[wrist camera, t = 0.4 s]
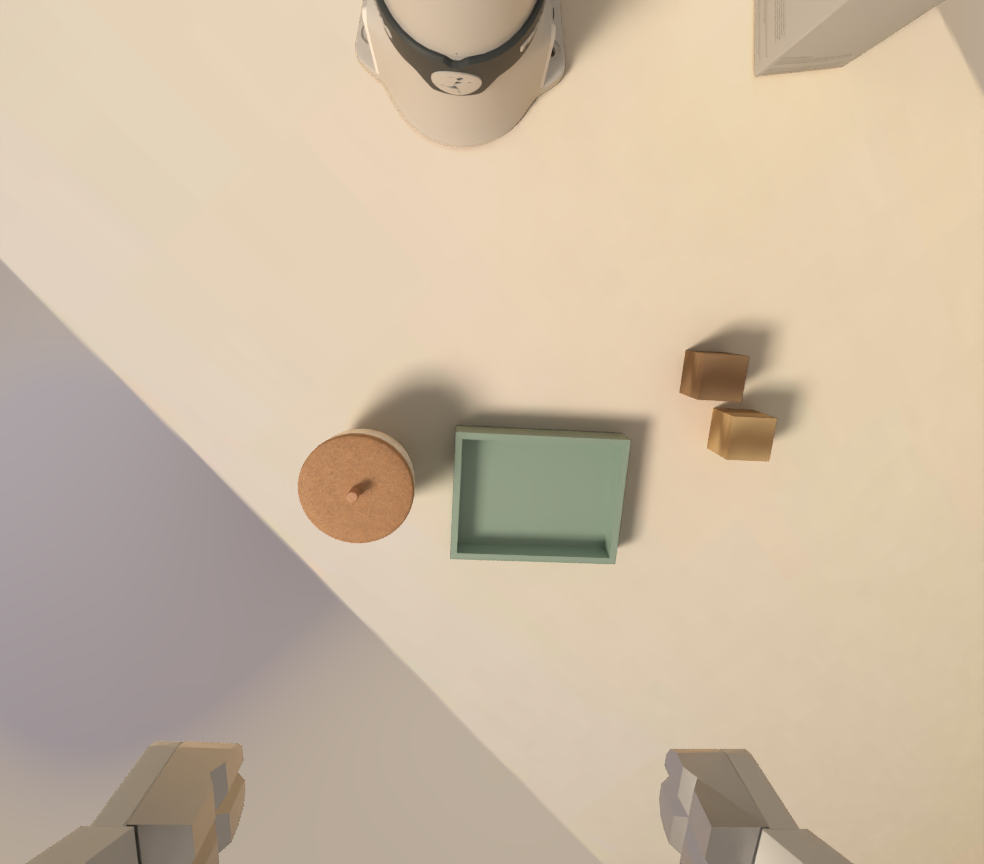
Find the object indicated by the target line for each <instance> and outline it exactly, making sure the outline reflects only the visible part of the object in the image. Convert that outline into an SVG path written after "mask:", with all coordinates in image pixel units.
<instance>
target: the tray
mask: <svg viewBox="0 0 984 864" xmlns="http://www.w3.org/2000/svg"><path fill="white" fill-rule="evenodd" d="M630 443H631V440H630V439H629V438H627V437H626V436H625V435H624V434H622V433H609V432H588V431H567V430H546V429H525V428H503V427H482V426H461V425H456V437H455V460H454V482H453V505H452V527H451V550H450V559H466V560H497V561H529V562H561V563H592V564H615V562H616V554H617V546H618V538H619V530H620V522H621V514H622V506H623V498H624V490H625V482H626V474H627V466H628V458H629V451H630Z"/></svg>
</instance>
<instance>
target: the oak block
mask: <svg viewBox="0 0 984 864" xmlns="http://www.w3.org/2000/svg"><path fill="white" fill-rule="evenodd" d="M776 423H777V418H774V417H771V416H768V415H766V414H763V413H760V412H757V411H754V410H740V409H720V408H713V414H712V420H711V427H710V433H709V439H708V445H707V448H708V449H709V450H711V451H713V452H715V453H716V454H718V455H720V456H721V457H723V458H725V459H726V460H747V461H769V459H770V454H771V449H772V444H773V438H774V433H775V428H776Z"/></svg>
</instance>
